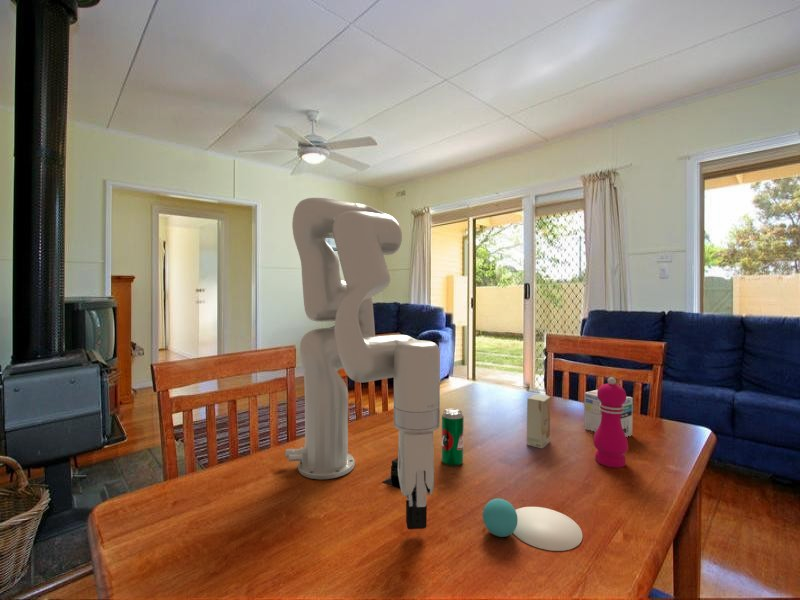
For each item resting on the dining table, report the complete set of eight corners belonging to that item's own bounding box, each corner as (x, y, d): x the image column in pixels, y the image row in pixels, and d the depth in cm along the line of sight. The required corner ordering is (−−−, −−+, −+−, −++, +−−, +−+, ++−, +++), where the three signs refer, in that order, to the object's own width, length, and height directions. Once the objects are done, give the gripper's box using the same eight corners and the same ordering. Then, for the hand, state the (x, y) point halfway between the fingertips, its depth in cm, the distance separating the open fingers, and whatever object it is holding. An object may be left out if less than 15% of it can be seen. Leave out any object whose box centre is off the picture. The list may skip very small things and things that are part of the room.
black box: (398, 498, 78) (398, 475, 78) (370, 487, 82) (370, 466, 82) (431, 474, 88) (431, 454, 88) (404, 465, 92) (404, 446, 92)
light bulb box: (633, 435, 109) (634, 397, 109) (620, 441, 106) (621, 401, 105) (595, 424, 118) (596, 388, 118) (582, 429, 115) (583, 392, 114)
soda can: (462, 468, 90) (463, 415, 89) (440, 466, 91) (440, 414, 90) (463, 458, 95) (464, 408, 94) (442, 456, 96) (442, 407, 95)
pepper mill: (631, 461, 93) (633, 377, 93) (623, 472, 88) (625, 382, 87) (598, 452, 98) (600, 372, 97) (588, 462, 93) (590, 377, 92)
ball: (498, 550, 63) (482, 520, 63) (487, 530, 69) (473, 502, 68) (528, 533, 63) (513, 503, 63) (515, 514, 69) (501, 486, 69)
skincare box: (542, 449, 100) (543, 401, 100) (525, 445, 103) (526, 398, 102) (550, 441, 105) (551, 395, 105) (534, 437, 108) (534, 393, 107)
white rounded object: (524, 553, 61) (524, 551, 61) (497, 509, 73) (497, 508, 73) (597, 548, 62) (597, 547, 62) (560, 506, 74) (560, 505, 74)
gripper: (390, 403, 72) (390, 502, 73) (397, 434, 57) (397, 558, 58) (431, 402, 73) (430, 500, 73) (448, 432, 58) (448, 555, 59)
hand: (416, 525), depth 66 cm, fingers closed
